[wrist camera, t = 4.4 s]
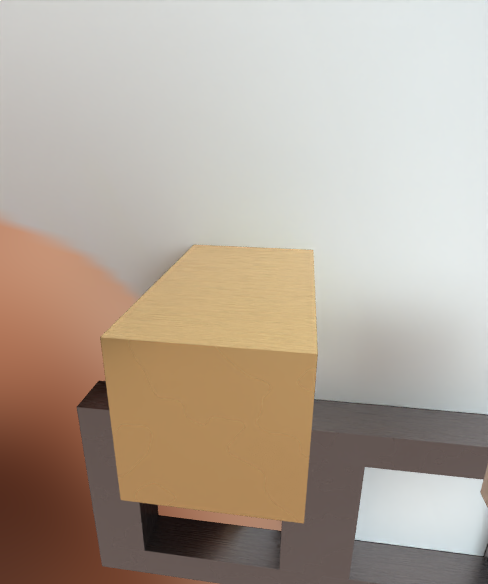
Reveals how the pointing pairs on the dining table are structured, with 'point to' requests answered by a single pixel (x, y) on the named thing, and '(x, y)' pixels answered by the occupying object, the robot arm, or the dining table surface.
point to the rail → (318, 509)
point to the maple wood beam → (217, 384)
